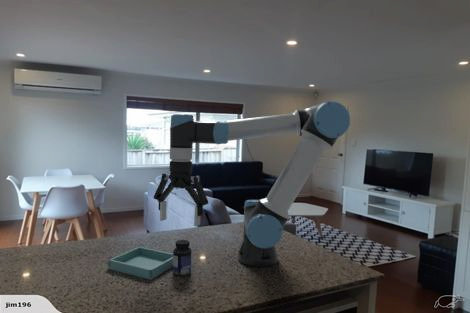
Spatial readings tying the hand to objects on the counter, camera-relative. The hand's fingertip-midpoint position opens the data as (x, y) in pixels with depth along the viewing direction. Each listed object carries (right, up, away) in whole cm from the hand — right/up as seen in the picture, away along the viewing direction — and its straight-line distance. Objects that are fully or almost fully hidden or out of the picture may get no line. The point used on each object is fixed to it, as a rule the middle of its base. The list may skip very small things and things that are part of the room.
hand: (179, 222), depth 117 cm
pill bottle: (+1, -17, 0) cm, 17 cm away
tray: (-13, -16, +5) cm, 22 cm away
